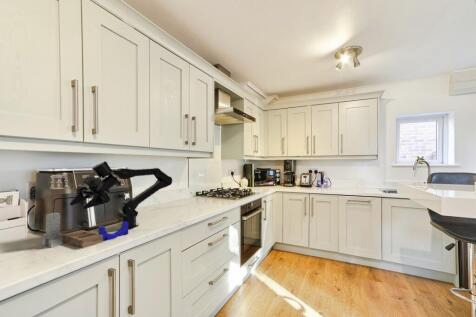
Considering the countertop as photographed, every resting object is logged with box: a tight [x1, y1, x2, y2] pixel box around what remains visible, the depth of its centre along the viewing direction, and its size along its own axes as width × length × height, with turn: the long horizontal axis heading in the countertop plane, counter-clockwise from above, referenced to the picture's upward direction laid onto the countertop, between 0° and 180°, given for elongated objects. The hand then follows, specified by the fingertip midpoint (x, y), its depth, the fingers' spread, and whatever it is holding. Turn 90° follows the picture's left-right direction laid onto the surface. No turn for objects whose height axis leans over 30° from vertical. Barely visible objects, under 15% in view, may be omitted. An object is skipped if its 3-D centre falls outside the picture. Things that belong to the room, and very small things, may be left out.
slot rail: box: [63, 229, 104, 249], centre depth 97 cm, size 16×8×3 cm, turn 63°
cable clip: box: [97, 221, 129, 242], centre depth 103 cm, size 12×4×6 cm, turn 141°
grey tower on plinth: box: [42, 212, 64, 248], centre depth 93 cm, size 7×4×13 cm, turn 63°
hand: (76, 206), depth 98 cm, fingers open, 9 cm apart
